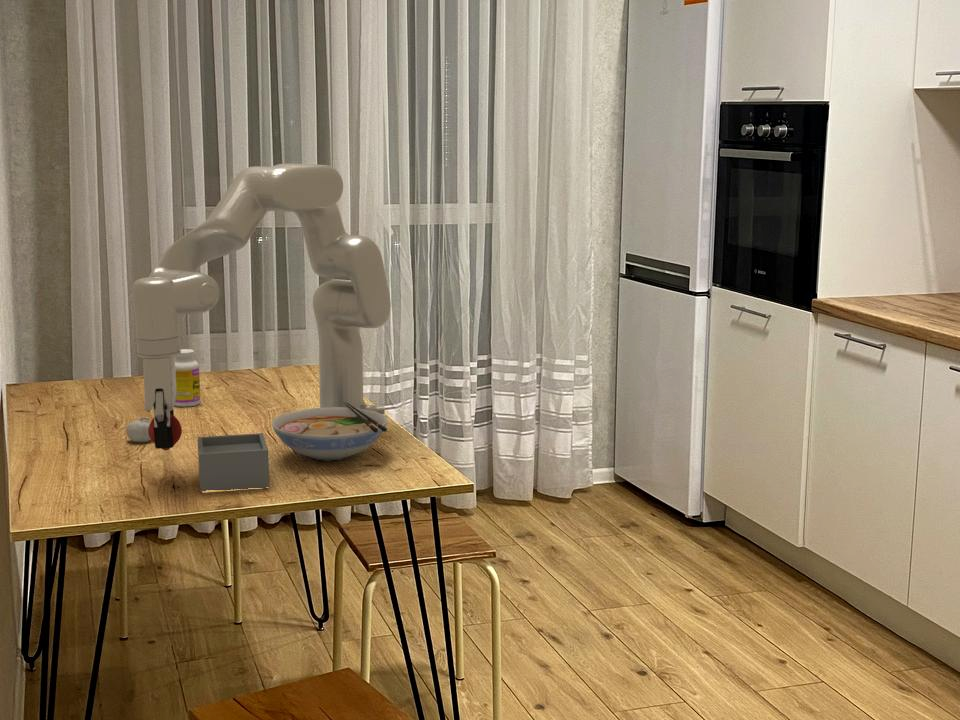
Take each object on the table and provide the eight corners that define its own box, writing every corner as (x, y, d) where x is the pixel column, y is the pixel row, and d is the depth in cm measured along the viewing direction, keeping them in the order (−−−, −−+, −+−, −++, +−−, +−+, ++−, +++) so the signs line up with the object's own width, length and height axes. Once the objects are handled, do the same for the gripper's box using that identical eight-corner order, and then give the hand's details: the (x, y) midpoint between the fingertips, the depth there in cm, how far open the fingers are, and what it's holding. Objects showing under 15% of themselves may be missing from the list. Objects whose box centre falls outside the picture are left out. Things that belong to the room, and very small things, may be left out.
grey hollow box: (264, 471, 214) (262, 433, 212) (269, 490, 202) (268, 449, 201) (199, 475, 211) (197, 437, 209) (200, 495, 199) (199, 454, 198)
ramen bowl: (261, 445, 230) (260, 406, 229) (370, 436, 238) (369, 398, 237) (285, 480, 207) (284, 437, 206) (404, 468, 215) (403, 426, 214)
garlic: (161, 439, 235) (160, 415, 234) (147, 445, 230) (145, 421, 229) (135, 437, 237) (134, 412, 236) (121, 443, 231) (119, 419, 230)
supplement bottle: (196, 407, 262) (193, 353, 259) (168, 407, 262) (165, 353, 260) (203, 401, 268) (201, 348, 266) (176, 400, 269) (173, 348, 266)
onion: (170, 443, 210) (167, 402, 208) (189, 449, 207) (186, 407, 205) (143, 451, 206) (140, 408, 204) (162, 456, 202) (159, 413, 200)
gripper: (142, 337, 209) (149, 431, 213) (131, 357, 193) (139, 458, 197) (183, 336, 211) (189, 428, 215) (176, 355, 194) (184, 455, 198)
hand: (165, 441), depth 206 cm, fingers closed on onion, 5 cm apart
